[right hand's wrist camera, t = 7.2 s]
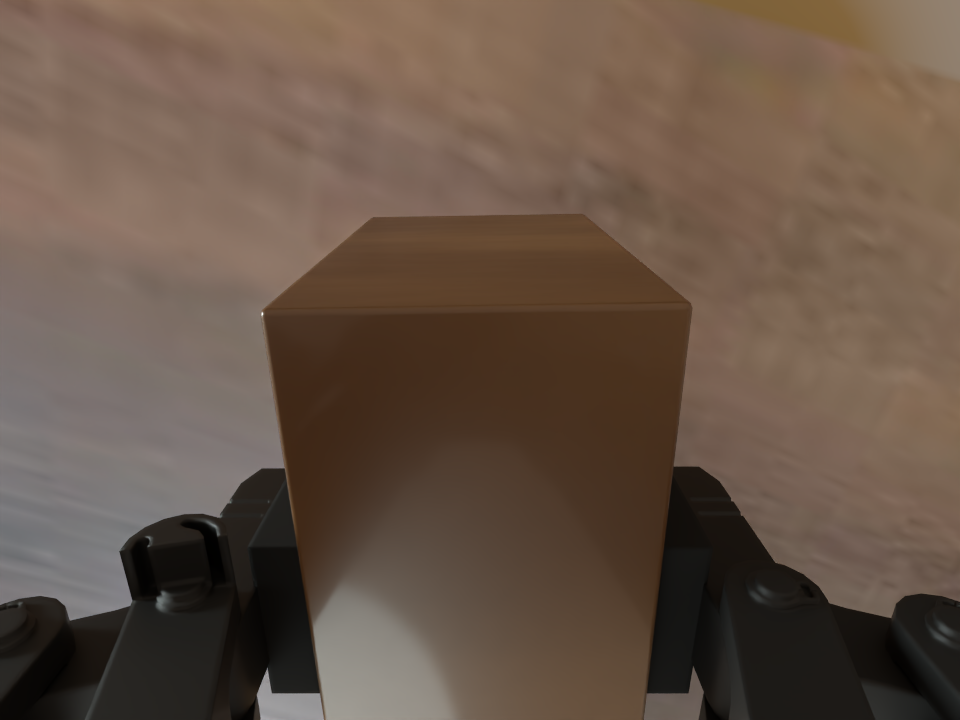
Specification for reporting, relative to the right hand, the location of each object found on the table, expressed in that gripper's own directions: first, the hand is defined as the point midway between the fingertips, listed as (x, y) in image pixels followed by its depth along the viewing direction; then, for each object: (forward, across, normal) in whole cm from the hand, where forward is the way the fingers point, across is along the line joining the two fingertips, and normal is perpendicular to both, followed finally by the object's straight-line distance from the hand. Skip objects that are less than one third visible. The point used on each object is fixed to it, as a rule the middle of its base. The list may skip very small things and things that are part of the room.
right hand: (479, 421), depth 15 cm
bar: (+1, 0, -31) cm, 31 cm away
